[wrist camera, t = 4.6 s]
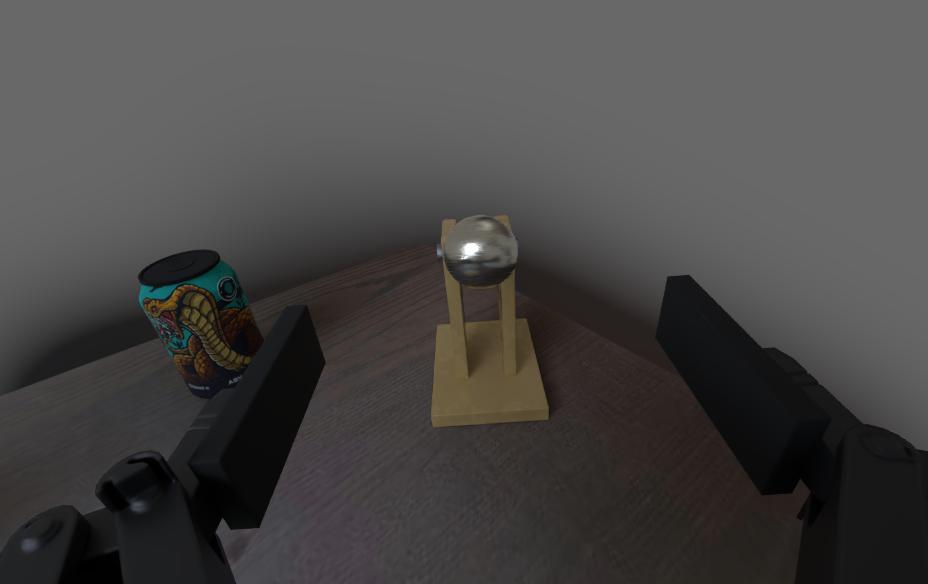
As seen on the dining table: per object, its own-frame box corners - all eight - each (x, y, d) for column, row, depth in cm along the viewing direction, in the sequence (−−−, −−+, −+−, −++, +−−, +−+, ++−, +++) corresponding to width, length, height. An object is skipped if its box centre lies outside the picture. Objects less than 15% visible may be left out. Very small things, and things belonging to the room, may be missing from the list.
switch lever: (524, 290, 19) (519, 209, 18) (444, 296, 19) (437, 215, 18) (501, 271, 33) (498, 225, 32) (456, 275, 33) (452, 229, 33)
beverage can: (208, 417, 35) (140, 297, 29) (182, 381, 40) (118, 270, 33) (286, 372, 40) (241, 259, 33) (254, 344, 44) (209, 239, 38)
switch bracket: (548, 420, 32) (554, 260, 25) (432, 427, 32) (405, 272, 25) (526, 328, 42) (526, 196, 35) (438, 334, 43) (420, 205, 36)
